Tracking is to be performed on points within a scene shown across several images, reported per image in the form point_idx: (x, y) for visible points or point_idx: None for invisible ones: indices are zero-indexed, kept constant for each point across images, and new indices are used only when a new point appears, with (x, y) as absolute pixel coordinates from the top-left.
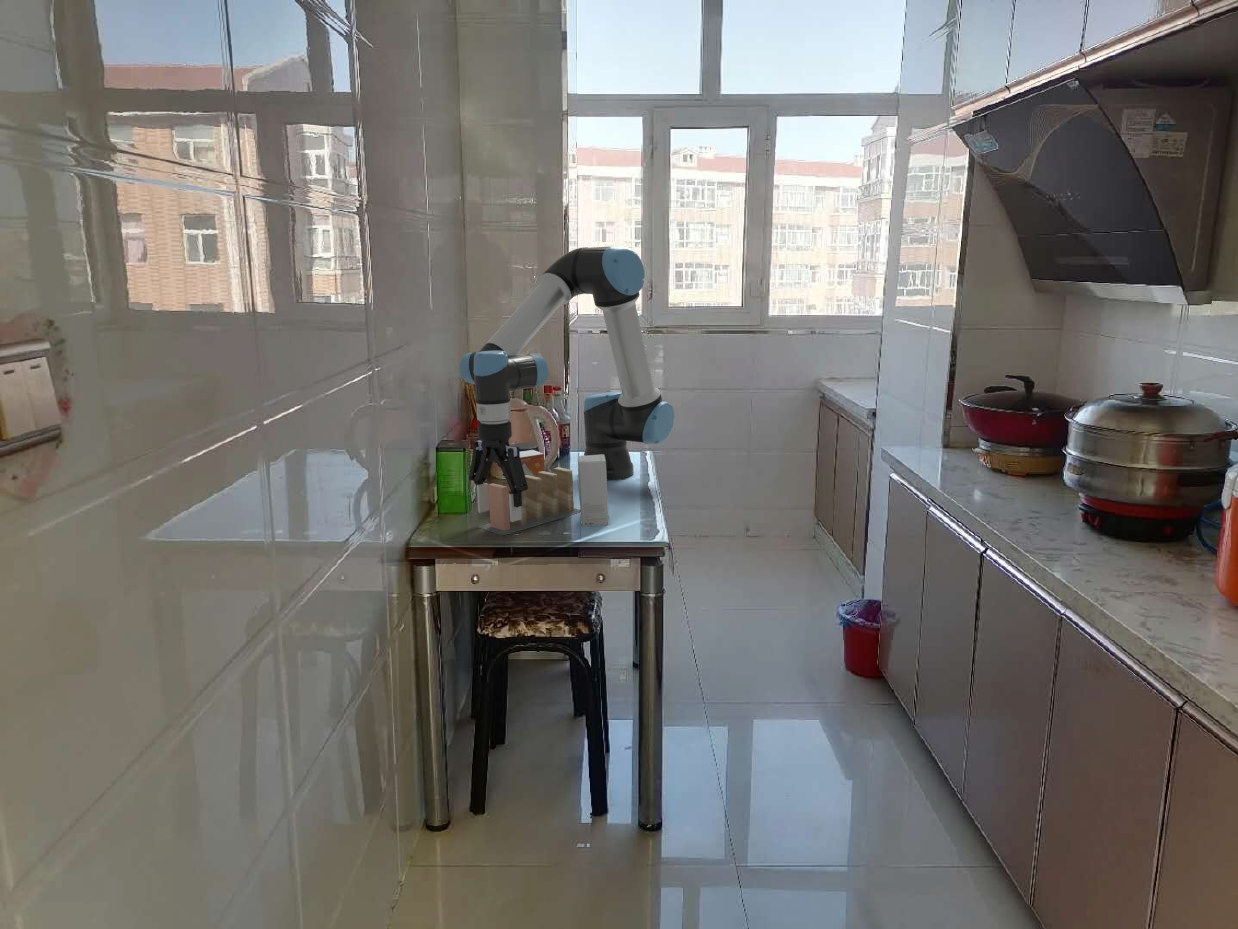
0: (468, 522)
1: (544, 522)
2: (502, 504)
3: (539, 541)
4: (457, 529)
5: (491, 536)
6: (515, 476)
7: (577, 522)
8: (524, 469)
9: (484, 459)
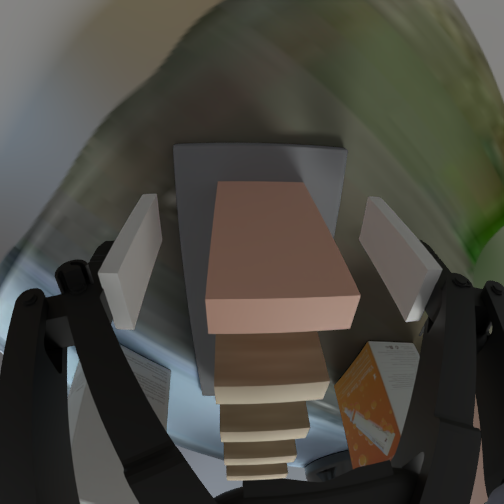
0: (419, 189)
1: (192, 310)
2: (216, 235)
3: (65, 201)
4: (401, 112)
5: (228, 123)
6: (9, 368)
7: (153, 353)
8: (383, 440)
9: (433, 460)
